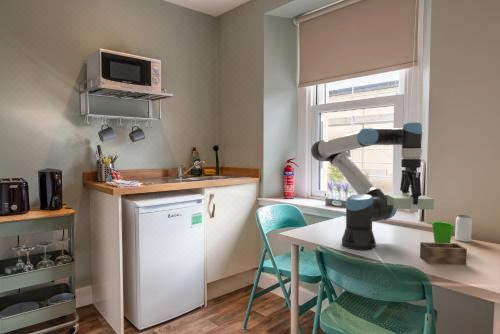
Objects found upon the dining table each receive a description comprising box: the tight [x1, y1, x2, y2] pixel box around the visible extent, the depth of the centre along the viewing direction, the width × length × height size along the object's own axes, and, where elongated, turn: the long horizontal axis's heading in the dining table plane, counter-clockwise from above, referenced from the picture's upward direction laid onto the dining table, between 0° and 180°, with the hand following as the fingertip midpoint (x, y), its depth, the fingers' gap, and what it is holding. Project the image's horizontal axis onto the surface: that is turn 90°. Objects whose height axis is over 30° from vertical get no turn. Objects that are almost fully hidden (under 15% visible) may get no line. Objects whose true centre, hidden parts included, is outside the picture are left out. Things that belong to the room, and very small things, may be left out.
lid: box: [387, 194, 435, 211], centre depth 134 cm, size 16×9×4 cm, turn 83°
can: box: [454, 214, 473, 243], centre depth 151 cm, size 6×6×12 cm
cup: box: [431, 221, 456, 243], centre depth 140 cm, size 9×9×11 cm
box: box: [419, 241, 468, 266], centre depth 122 cm, size 14×7×7 cm, turn 83°
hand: (409, 209), depth 135 cm, fingers closed on lid, 9 cm apart
